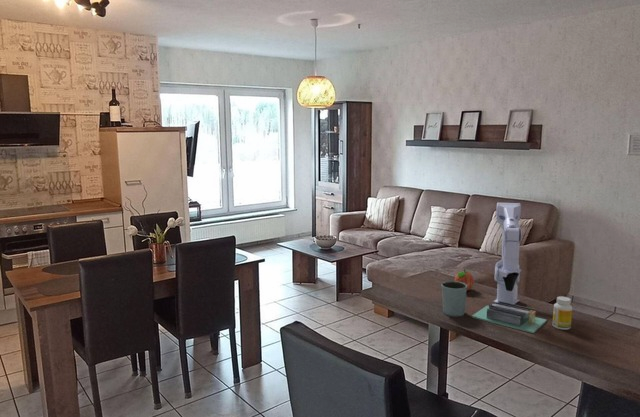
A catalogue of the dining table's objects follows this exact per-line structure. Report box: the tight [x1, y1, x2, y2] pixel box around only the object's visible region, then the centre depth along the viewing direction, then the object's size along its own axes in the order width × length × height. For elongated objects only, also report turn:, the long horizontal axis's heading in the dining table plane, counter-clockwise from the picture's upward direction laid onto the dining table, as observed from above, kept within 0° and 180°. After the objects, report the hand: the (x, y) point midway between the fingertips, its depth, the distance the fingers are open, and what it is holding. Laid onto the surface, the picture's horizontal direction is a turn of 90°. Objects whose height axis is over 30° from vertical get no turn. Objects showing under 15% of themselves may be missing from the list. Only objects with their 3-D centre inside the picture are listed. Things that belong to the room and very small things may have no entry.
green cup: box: [440, 280, 467, 317], centre depth 199 cm, size 10×10×12 cm
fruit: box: [454, 269, 475, 291], centre depth 226 cm, size 9×10×10 cm
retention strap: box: [491, 303, 529, 315], centre depth 191 cm, size 14×2×1 cm, turn 48°
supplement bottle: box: [551, 295, 573, 331], centre depth 183 cm, size 6×6×11 cm
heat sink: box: [487, 301, 537, 327], centre depth 191 cm, size 12×17×5 cm
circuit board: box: [471, 305, 547, 334], centre depth 192 cm, size 15×24×1 cm, turn 48°
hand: (509, 290), depth 194 cm, fingers closed
